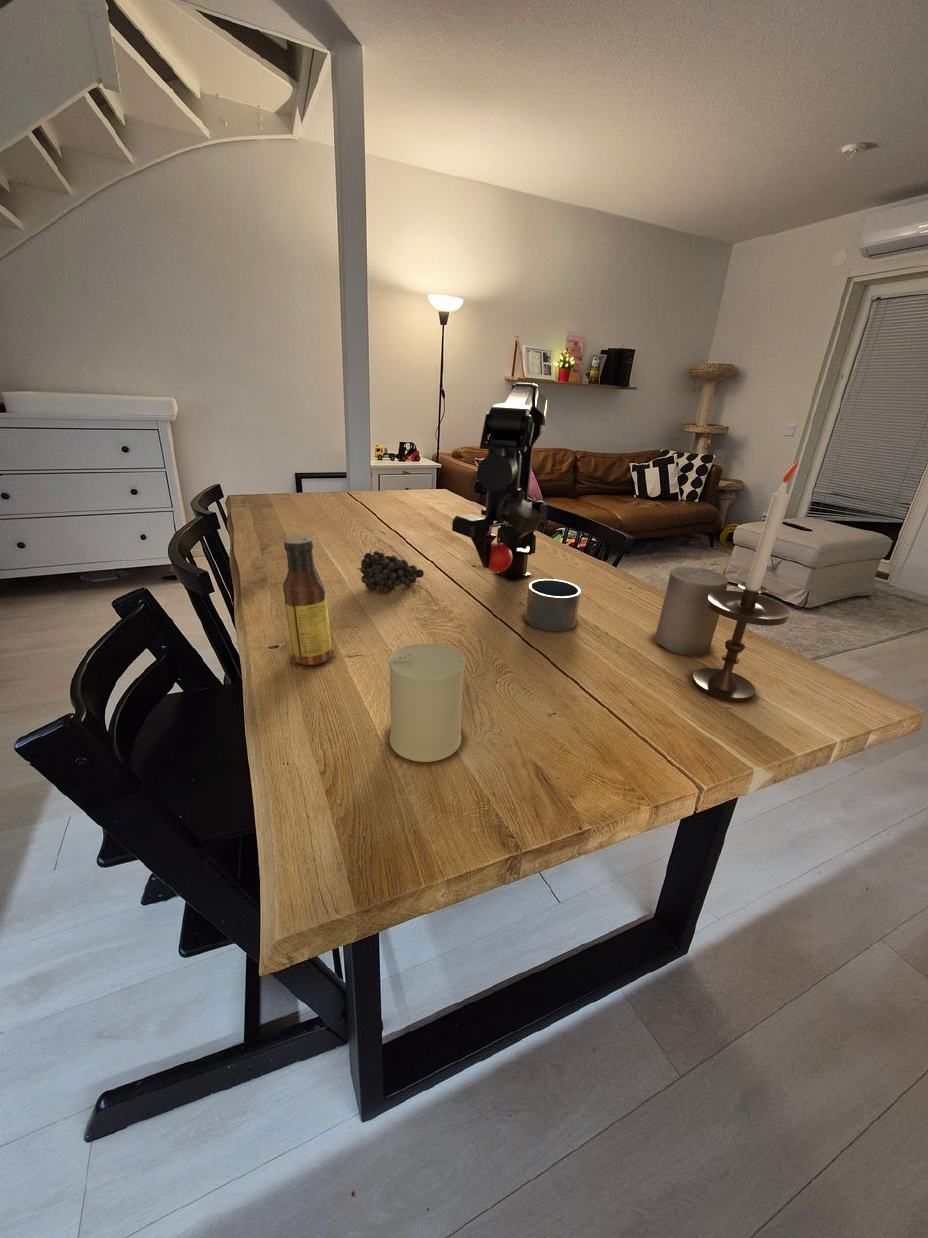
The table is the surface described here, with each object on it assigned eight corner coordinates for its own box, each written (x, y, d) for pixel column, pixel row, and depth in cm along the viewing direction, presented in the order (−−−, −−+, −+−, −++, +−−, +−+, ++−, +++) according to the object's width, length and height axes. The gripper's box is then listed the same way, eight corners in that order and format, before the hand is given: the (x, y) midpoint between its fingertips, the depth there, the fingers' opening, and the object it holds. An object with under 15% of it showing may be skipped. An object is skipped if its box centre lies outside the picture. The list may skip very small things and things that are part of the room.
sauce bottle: (339, 653, 84) (332, 537, 76) (317, 670, 79) (307, 548, 70) (306, 645, 86) (295, 532, 78) (282, 662, 80) (268, 541, 72)
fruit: (421, 543, 114) (355, 545, 108) (433, 564, 109) (364, 569, 103) (416, 573, 120) (353, 577, 114) (427, 595, 114) (361, 601, 108)
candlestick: (774, 694, 79) (857, 463, 64) (734, 713, 73) (815, 466, 59) (711, 664, 87) (773, 453, 73) (671, 679, 82) (729, 454, 67)
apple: (497, 564, 101) (500, 533, 98) (517, 573, 97) (520, 540, 94) (476, 569, 97) (478, 537, 95) (495, 578, 93) (498, 544, 91)
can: (391, 717, 68) (390, 639, 63) (458, 717, 69) (462, 639, 64) (387, 763, 60) (385, 676, 55) (464, 761, 61) (469, 676, 56)
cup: (548, 607, 107) (552, 576, 104) (585, 623, 100) (591, 590, 97) (515, 617, 101) (518, 585, 98) (552, 635, 94) (557, 601, 91)
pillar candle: (709, 639, 96) (730, 565, 90) (708, 661, 88) (732, 581, 82) (656, 628, 100) (673, 555, 93) (651, 648, 92) (669, 570, 85)
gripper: (494, 494, 79) (487, 587, 85) (572, 486, 90) (561, 569, 96) (451, 483, 87) (448, 568, 93) (528, 476, 98) (520, 553, 104)
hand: (496, 565), depth 96 cm, fingers closed on apple, 5 cm apart
